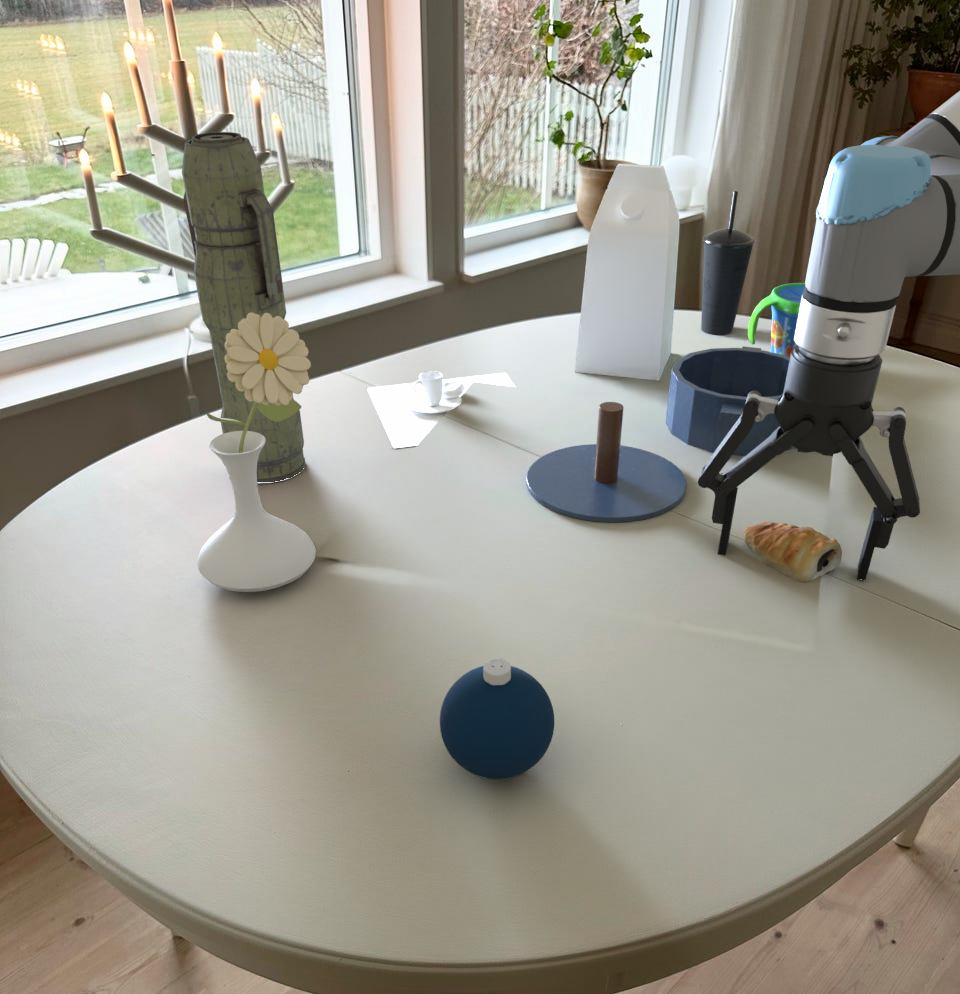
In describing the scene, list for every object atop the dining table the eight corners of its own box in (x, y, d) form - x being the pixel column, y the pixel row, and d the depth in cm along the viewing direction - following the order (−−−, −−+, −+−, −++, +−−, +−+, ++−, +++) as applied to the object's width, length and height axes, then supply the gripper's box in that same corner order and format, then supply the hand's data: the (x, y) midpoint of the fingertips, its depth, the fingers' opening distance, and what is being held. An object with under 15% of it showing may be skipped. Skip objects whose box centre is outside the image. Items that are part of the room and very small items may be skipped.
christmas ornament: (546, 724, 76) (550, 621, 70) (558, 801, 69) (564, 695, 63) (441, 727, 76) (436, 625, 70) (442, 805, 69) (437, 699, 63)
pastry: (726, 552, 96) (732, 519, 94) (767, 530, 100) (774, 498, 98) (805, 591, 91) (814, 557, 88) (846, 567, 94) (855, 533, 92)
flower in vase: (210, 614, 88) (153, 349, 73) (192, 554, 97) (137, 306, 82) (347, 584, 92) (319, 326, 77) (318, 529, 101) (287, 287, 86)
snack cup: (842, 352, 141) (858, 282, 135) (862, 379, 133) (880, 305, 126) (735, 352, 142) (746, 281, 136) (748, 378, 133) (761, 305, 127)
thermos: (255, 442, 118) (203, 124, 97) (330, 463, 113) (293, 133, 92) (204, 470, 112) (137, 138, 91) (281, 494, 107) (229, 148, 86)
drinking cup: (715, 318, 154) (733, 183, 142) (751, 331, 149) (774, 192, 137) (681, 328, 150) (697, 190, 138) (718, 341, 145) (738, 200, 133)
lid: (696, 464, 112) (707, 385, 106) (670, 538, 99) (681, 452, 93) (549, 444, 117) (552, 367, 111) (506, 512, 103) (506, 429, 97)
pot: (808, 404, 126) (820, 348, 121) (797, 478, 109) (810, 416, 105) (681, 389, 130) (687, 335, 126) (651, 458, 113) (657, 398, 109)
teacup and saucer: (459, 389, 131) (458, 360, 128) (474, 412, 125) (473, 382, 122) (396, 396, 129) (394, 367, 127) (408, 419, 123) (406, 389, 121)
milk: (671, 352, 142) (692, 159, 126) (658, 380, 133) (680, 177, 117) (591, 344, 145) (603, 155, 129) (574, 371, 136) (584, 172, 120)
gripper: (686, 349, 82) (659, 560, 95) (998, 382, 76) (925, 604, 88) (698, 321, 88) (672, 524, 101) (990, 350, 81) (922, 563, 94)
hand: (790, 562), depth 94 cm, fingers open, 13 cm apart
